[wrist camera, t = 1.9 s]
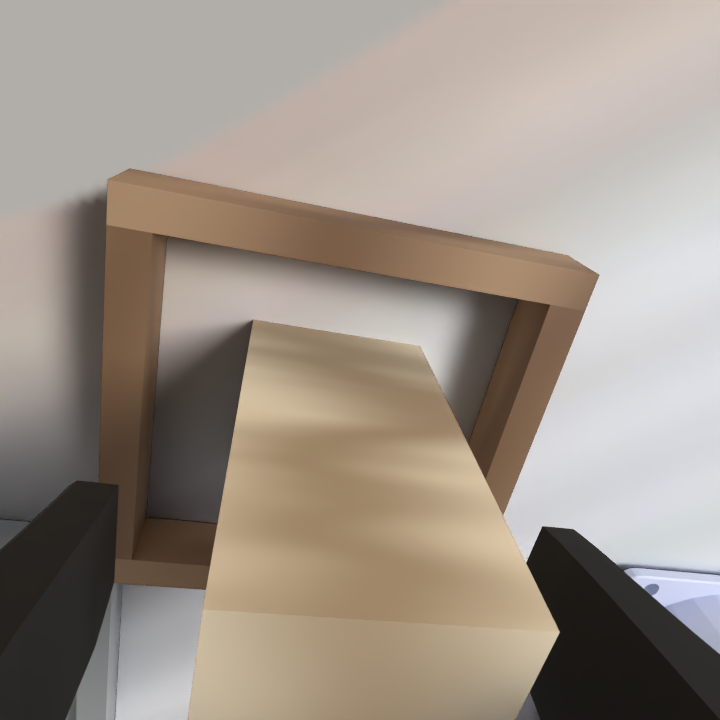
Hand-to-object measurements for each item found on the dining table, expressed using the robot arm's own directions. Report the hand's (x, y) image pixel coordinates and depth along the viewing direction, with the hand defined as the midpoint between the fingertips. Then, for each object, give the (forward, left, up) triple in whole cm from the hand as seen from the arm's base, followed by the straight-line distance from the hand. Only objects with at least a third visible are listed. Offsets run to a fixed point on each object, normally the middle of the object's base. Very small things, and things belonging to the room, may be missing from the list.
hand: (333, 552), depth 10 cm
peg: (0, 0, -5) cm, 5 cm away
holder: (0, 0, -5) cm, 5 cm away
